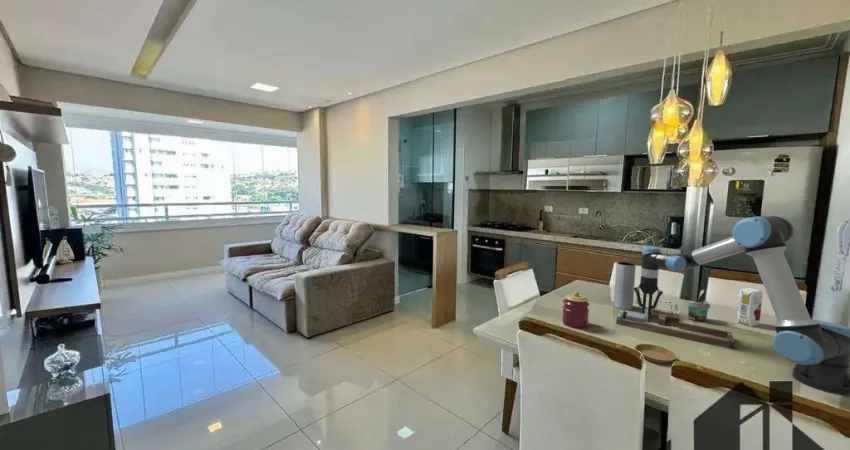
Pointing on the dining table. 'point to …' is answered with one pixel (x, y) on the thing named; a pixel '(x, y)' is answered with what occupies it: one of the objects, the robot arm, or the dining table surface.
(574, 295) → the canister
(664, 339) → the dining table surface
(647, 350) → the plant saucer
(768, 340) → the dining table surface
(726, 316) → the dining table surface
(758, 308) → the juice carton
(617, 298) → the vase
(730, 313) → the dining table surface
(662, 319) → the track
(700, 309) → the food container
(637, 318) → the grey block
